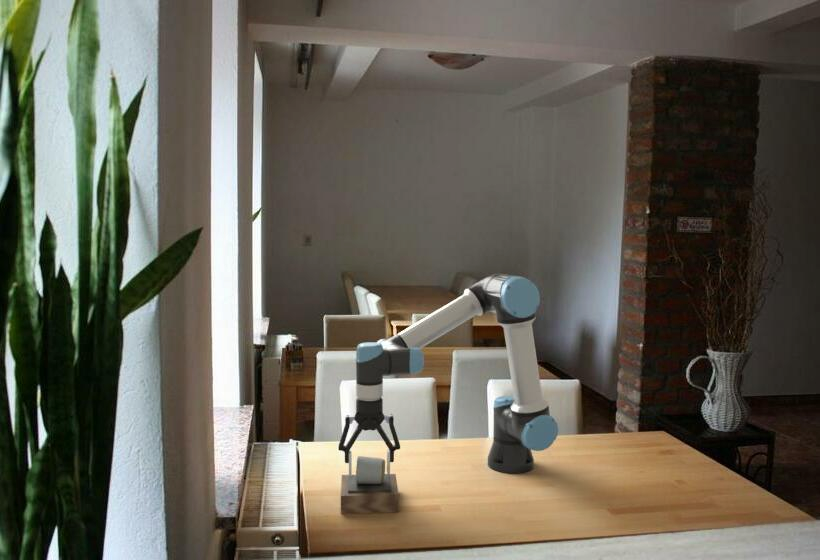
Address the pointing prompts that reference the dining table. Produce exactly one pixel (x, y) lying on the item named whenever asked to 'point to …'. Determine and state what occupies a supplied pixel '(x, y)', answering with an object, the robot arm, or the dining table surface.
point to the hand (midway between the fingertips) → (369, 473)
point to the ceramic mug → (370, 470)
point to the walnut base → (369, 495)
